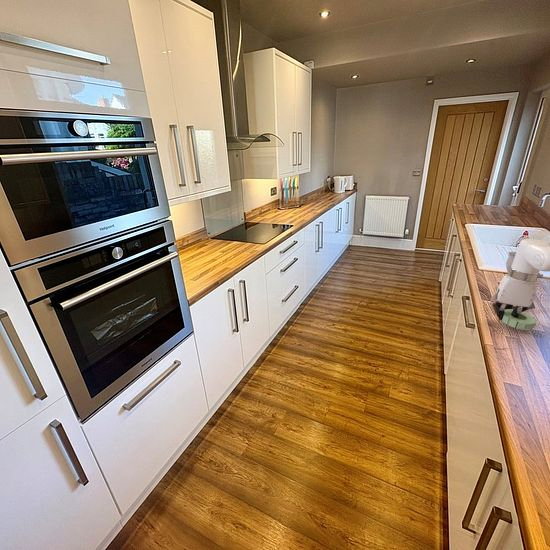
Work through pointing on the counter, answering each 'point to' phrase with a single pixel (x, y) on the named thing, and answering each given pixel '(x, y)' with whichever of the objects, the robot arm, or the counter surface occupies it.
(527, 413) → the counter surface
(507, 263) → the chalice
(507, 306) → the post
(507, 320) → the ring
